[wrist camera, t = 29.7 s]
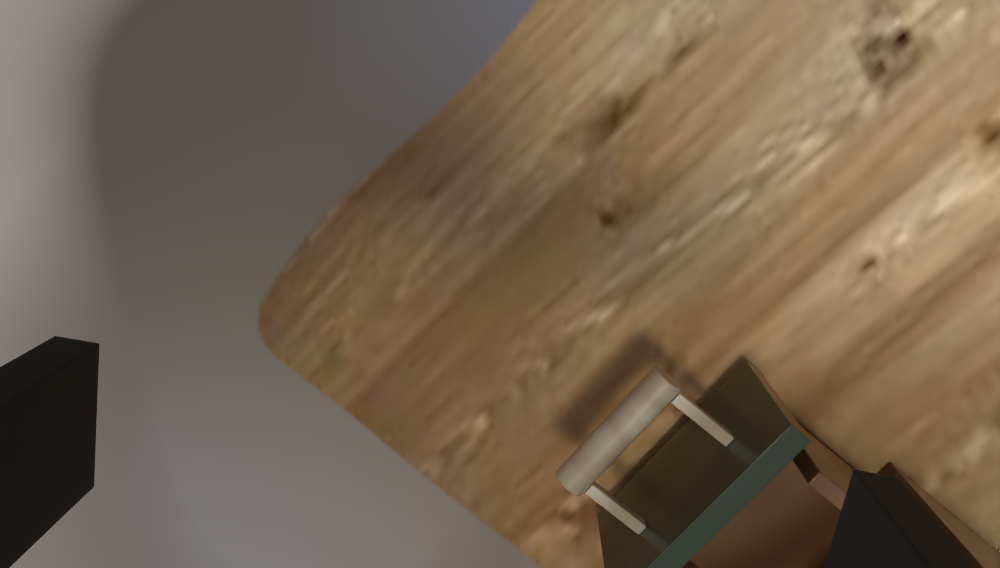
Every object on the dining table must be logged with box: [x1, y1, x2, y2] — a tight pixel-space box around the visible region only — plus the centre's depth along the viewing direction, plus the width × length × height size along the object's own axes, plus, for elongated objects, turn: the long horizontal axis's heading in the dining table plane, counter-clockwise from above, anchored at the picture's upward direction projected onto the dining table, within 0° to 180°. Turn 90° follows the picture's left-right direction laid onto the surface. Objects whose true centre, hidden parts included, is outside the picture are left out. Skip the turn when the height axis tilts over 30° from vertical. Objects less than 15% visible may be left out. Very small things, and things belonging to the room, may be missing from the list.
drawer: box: [556, 361, 853, 568], centre depth 41 cm, size 19×12×8 cm, turn 51°
